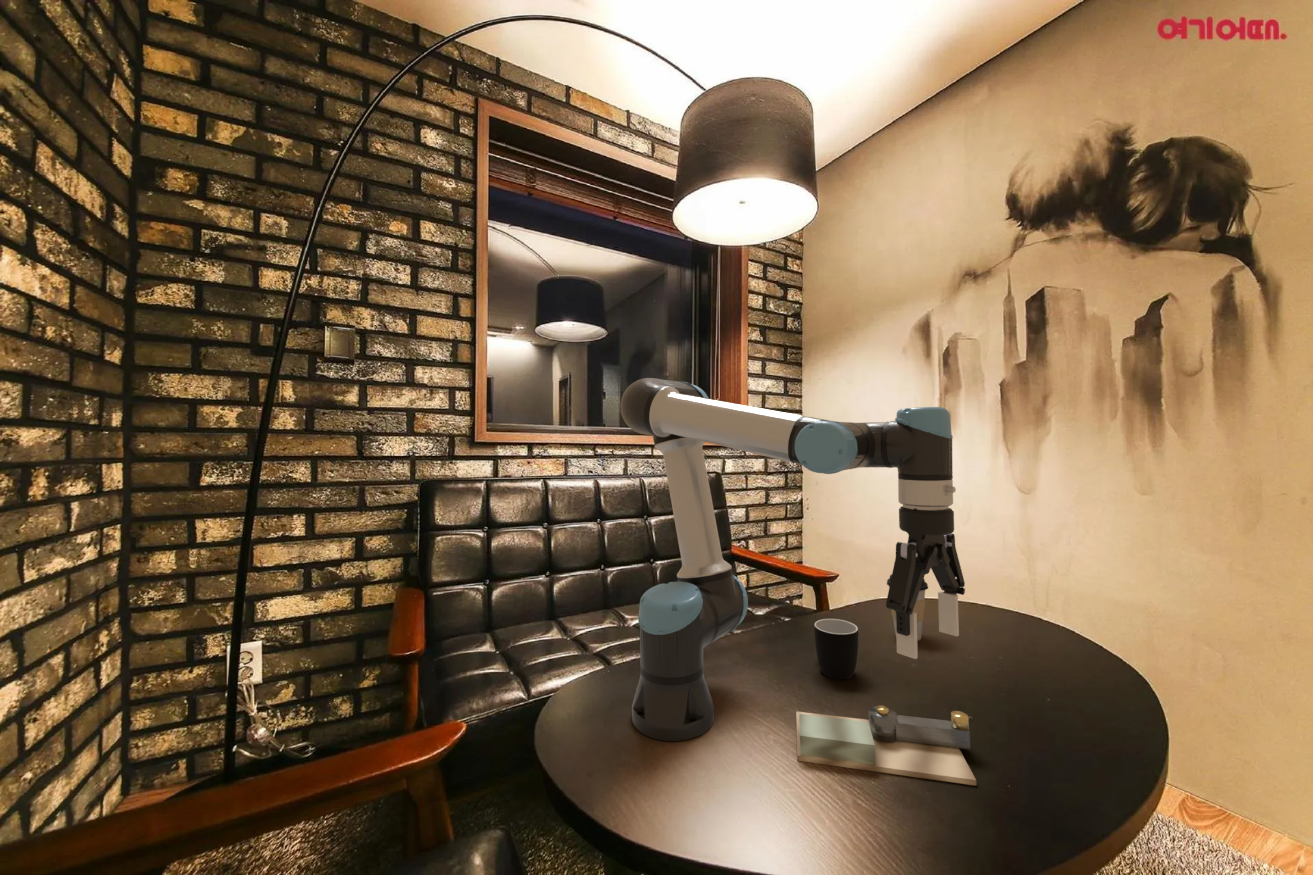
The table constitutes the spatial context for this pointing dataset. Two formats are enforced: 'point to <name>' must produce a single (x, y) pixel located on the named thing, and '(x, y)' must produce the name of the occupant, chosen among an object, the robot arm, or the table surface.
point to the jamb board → (875, 750)
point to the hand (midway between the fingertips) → (929, 644)
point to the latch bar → (919, 728)
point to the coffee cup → (915, 608)
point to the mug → (836, 647)
